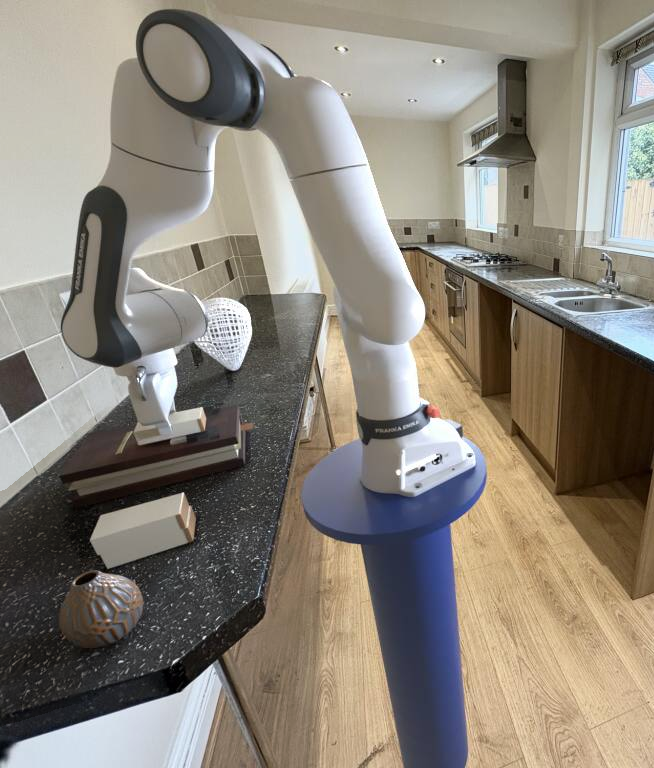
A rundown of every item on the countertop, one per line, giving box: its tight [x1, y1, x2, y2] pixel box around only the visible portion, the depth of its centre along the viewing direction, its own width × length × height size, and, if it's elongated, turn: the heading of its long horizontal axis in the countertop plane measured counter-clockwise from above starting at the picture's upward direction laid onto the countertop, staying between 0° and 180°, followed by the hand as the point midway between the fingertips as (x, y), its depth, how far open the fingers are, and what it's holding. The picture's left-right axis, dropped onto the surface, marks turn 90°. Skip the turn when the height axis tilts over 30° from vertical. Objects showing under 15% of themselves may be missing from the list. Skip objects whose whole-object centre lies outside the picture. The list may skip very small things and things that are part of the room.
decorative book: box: [58, 401, 255, 509], centre depth 82 cm, size 19×8×30 cm
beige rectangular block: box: [89, 492, 197, 570], centre depth 62 cm, size 10×6×6 cm, turn 122°
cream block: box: [133, 406, 206, 445], centre depth 80 cm, size 10×6×3 cm, turn 122°
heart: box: [193, 297, 253, 372], centre depth 128 cm, size 28×16×22 cm, turn 32°
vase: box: [58, 569, 144, 649], centre depth 48 cm, size 7×7×9 cm
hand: (169, 426), depth 80 cm, fingers closed on cream block, 6 cm apart
